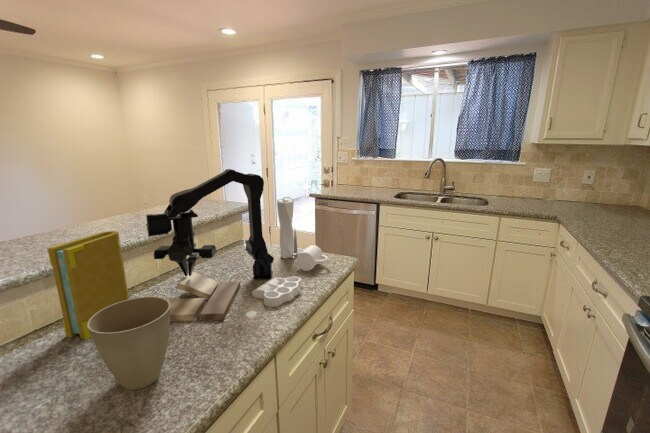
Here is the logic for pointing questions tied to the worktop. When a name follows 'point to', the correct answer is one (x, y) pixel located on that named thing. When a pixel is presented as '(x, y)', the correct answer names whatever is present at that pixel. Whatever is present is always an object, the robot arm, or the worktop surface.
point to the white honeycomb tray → (278, 290)
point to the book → (88, 278)
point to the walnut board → (220, 301)
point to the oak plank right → (198, 285)
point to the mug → (310, 258)
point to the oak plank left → (186, 308)
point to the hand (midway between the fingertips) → (188, 275)
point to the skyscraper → (286, 228)
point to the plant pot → (133, 339)
